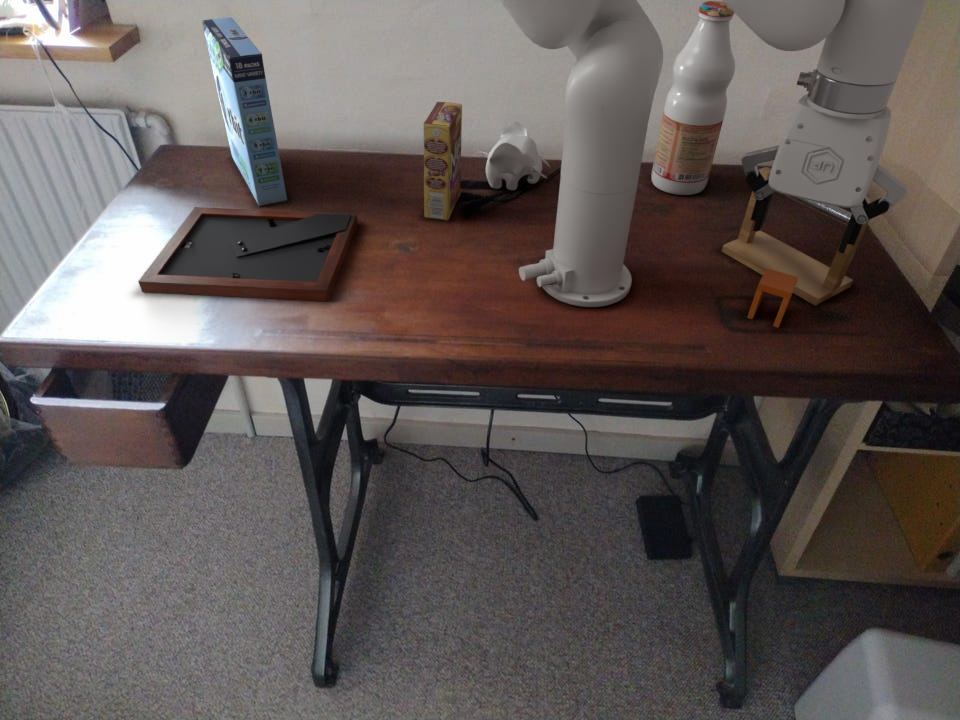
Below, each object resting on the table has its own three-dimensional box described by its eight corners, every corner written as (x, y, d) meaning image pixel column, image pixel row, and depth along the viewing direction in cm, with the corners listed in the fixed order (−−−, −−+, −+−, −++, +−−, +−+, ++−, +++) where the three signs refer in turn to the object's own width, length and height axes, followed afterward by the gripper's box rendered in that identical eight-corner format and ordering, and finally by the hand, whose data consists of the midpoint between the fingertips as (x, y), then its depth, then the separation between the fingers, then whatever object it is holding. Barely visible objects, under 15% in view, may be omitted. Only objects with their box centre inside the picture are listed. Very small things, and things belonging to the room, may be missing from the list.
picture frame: (357, 224, 105) (197, 217, 106) (356, 212, 104) (194, 205, 105) (328, 301, 90) (142, 292, 91) (326, 288, 89) (137, 279, 90)
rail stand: (815, 306, 91) (849, 225, 83) (721, 251, 101) (743, 174, 93) (850, 287, 95) (886, 207, 87) (756, 236, 105) (780, 160, 96)
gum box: (232, 158, 122) (199, 19, 106) (261, 153, 123) (232, 16, 108) (258, 207, 109) (225, 57, 94) (290, 200, 110) (262, 52, 95)
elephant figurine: (544, 200, 112) (548, 148, 106) (472, 192, 114) (473, 140, 108) (552, 174, 119) (556, 124, 113) (484, 167, 121) (485, 117, 115)
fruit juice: (639, 182, 117) (671, 3, 99) (670, 166, 122) (707, -8, 104) (685, 202, 112) (729, 17, 94) (716, 184, 117) (764, 5, 99)
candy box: (451, 222, 106) (449, 125, 96) (424, 218, 107) (420, 123, 97) (462, 195, 113) (462, 102, 103) (437, 192, 113) (434, 100, 103)
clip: (746, 318, 89) (759, 283, 85) (754, 302, 92) (766, 267, 88) (778, 328, 88) (792, 293, 84) (785, 312, 90) (798, 277, 87)
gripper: (755, 88, 71) (718, 232, 83) (941, 120, 65) (873, 272, 76) (771, 67, 76) (734, 206, 87) (946, 95, 70) (882, 241, 81)
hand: (799, 236), depth 82 cm, fingers open, 9 cm apart
